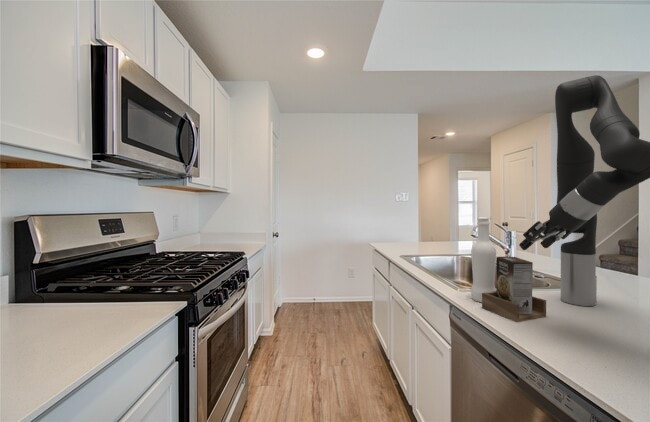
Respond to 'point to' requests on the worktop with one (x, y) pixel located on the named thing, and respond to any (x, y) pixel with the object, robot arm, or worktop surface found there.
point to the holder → (512, 307)
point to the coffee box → (515, 282)
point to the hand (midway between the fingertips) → (532, 246)
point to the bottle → (483, 262)
